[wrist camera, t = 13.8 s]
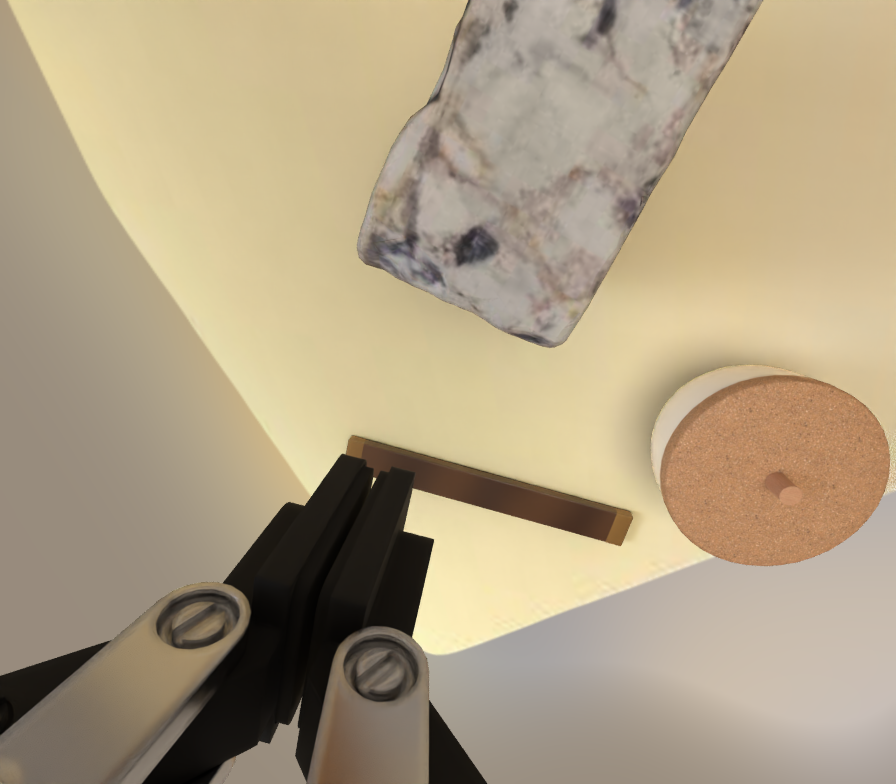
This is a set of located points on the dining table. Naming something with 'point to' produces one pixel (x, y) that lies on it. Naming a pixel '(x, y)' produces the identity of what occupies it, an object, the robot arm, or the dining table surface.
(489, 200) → the stone block
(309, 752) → the robot arm
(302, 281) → the dining table surface
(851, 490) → the trinket box
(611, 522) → the walnut straight-edge
